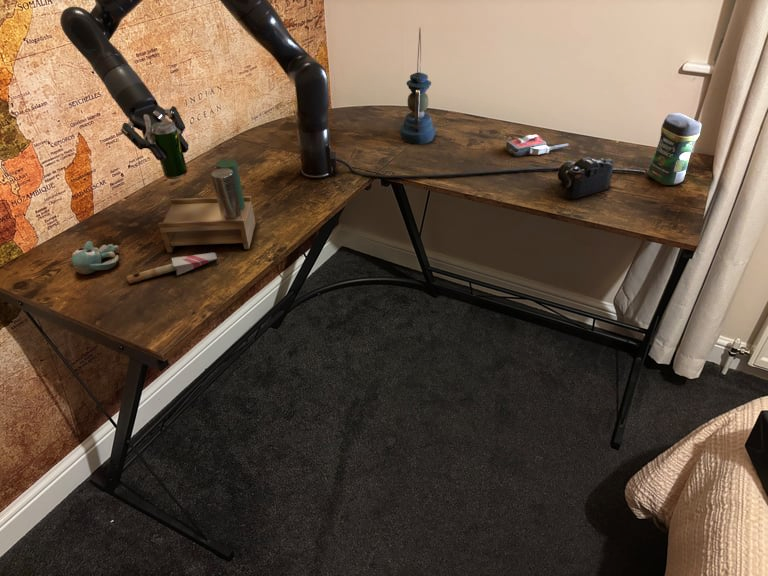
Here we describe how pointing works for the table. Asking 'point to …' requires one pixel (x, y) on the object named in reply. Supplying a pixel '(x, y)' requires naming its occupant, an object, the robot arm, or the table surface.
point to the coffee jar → (674, 149)
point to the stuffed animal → (94, 258)
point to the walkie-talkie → (529, 146)
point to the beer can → (170, 149)
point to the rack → (212, 214)
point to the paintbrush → (175, 266)
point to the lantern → (418, 109)
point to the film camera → (585, 176)
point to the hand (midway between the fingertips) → (175, 155)
